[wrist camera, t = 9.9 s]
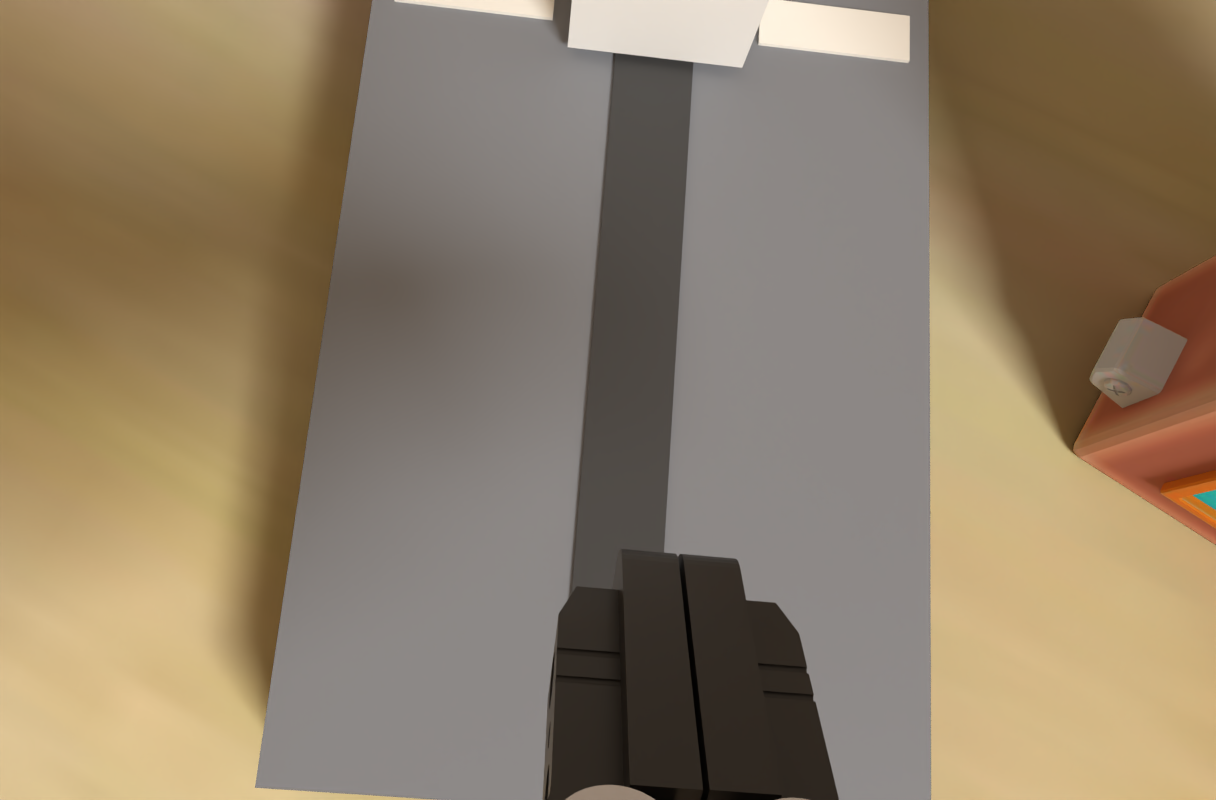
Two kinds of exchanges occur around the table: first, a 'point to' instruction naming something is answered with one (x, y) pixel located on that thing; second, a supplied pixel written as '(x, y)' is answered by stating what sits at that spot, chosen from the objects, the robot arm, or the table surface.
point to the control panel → (1161, 402)
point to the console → (611, 383)
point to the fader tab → (668, 28)
